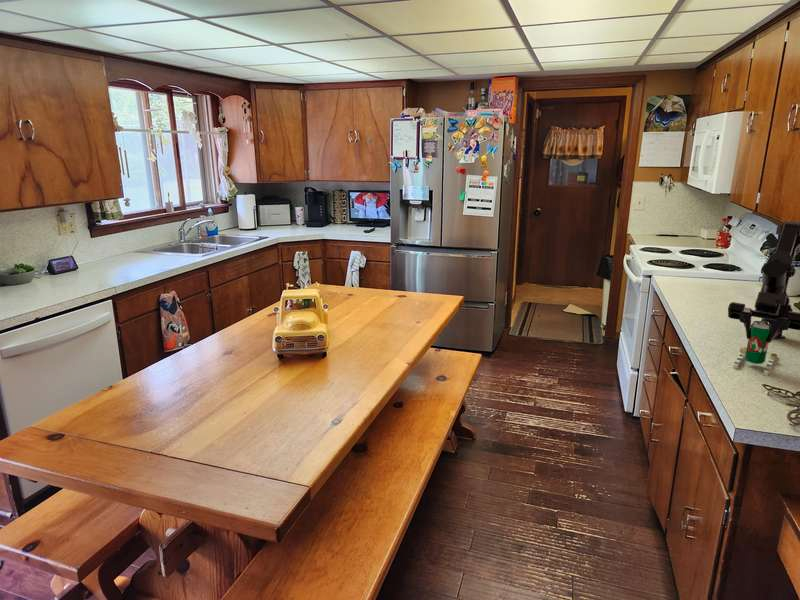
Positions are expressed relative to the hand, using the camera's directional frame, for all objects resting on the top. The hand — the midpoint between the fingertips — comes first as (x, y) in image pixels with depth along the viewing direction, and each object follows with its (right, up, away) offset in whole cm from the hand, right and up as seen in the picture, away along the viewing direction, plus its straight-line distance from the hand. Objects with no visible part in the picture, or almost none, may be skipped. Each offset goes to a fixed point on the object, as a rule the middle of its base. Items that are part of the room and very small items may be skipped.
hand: (758, 340), depth 154 cm
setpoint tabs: (+6, -5, +9) cm, 11 cm away
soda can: (+1, -7, +3) cm, 7 cm away
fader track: (+3, -7, +6) cm, 10 cm away
